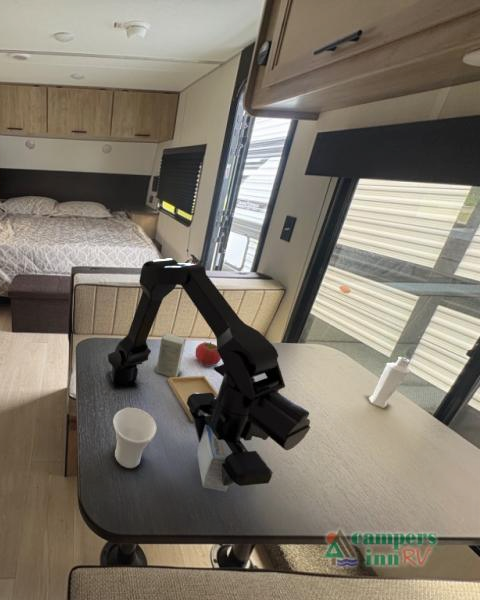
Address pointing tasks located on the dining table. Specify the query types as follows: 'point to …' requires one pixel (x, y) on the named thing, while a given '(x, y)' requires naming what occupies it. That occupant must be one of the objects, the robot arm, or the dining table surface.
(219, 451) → the medicine box
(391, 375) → the perfume bottle
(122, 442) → the cup
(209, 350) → the tomato
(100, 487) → the dining table surface
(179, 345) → the cosmetic box
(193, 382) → the holder
